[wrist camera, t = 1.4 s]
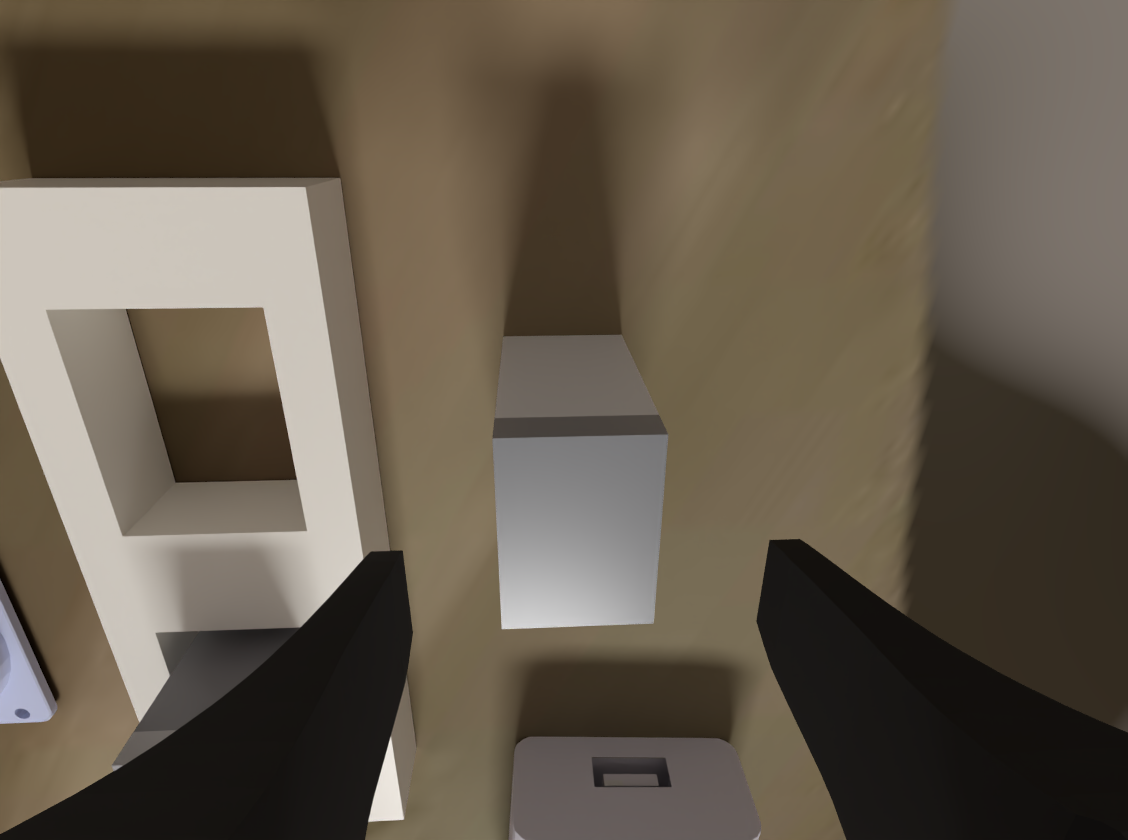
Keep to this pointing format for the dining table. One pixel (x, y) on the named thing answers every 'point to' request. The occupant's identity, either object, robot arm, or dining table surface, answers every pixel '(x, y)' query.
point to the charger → (630, 790)
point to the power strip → (131, 430)
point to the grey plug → (576, 483)
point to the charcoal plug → (202, 681)
